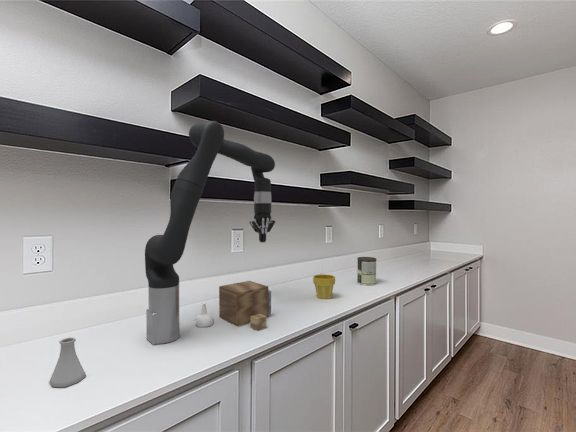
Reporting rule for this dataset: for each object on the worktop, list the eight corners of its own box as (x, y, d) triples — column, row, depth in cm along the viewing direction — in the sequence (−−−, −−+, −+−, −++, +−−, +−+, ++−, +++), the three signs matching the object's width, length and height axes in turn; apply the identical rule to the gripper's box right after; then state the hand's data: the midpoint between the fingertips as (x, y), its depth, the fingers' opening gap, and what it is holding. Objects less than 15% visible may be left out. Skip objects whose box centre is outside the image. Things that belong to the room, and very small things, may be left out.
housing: (237, 326, 113) (237, 293, 112) (219, 317, 122) (219, 286, 122) (268, 317, 122) (268, 286, 122) (249, 309, 131) (249, 280, 131)
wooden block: (257, 330, 109) (257, 319, 109) (250, 327, 112) (250, 316, 112) (266, 327, 112) (266, 316, 112) (259, 324, 115) (259, 313, 115)
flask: (42, 384, 76) (41, 343, 76) (72, 370, 83) (72, 332, 82) (63, 391, 73) (62, 348, 73) (92, 375, 80) (91, 336, 80)
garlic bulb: (215, 323, 117) (216, 301, 118) (210, 328, 111) (210, 305, 112) (198, 322, 118) (199, 301, 118) (192, 327, 112) (193, 304, 112)
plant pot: (308, 296, 151) (308, 276, 150) (323, 292, 157) (323, 273, 157) (324, 301, 143) (324, 280, 143) (339, 297, 150) (339, 276, 149)
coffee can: (353, 283, 177) (353, 258, 177) (364, 280, 184) (364, 256, 184) (369, 286, 170) (369, 260, 169) (379, 283, 177) (380, 258, 176)
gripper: (255, 202, 131) (255, 244, 131) (279, 202, 140) (279, 241, 140) (245, 202, 136) (245, 242, 137) (269, 202, 145) (269, 240, 146)
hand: (262, 242), depth 139 cm, fingers closed
